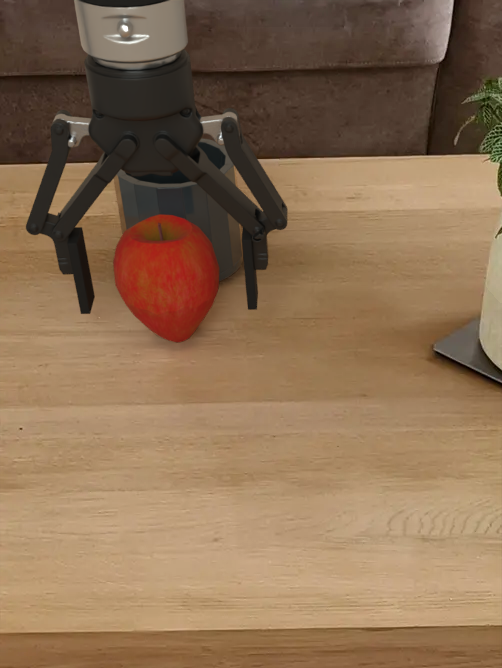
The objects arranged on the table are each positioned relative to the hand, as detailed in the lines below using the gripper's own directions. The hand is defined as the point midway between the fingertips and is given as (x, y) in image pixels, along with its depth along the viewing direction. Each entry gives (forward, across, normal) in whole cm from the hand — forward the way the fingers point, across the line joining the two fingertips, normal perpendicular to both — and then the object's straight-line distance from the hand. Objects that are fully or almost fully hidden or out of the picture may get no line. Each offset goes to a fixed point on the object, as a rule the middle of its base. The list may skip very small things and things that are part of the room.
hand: (171, 303), depth 98 cm
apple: (+3, 0, 0) cm, 3 cm away
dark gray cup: (+3, 0, +13) cm, 13 cm away
